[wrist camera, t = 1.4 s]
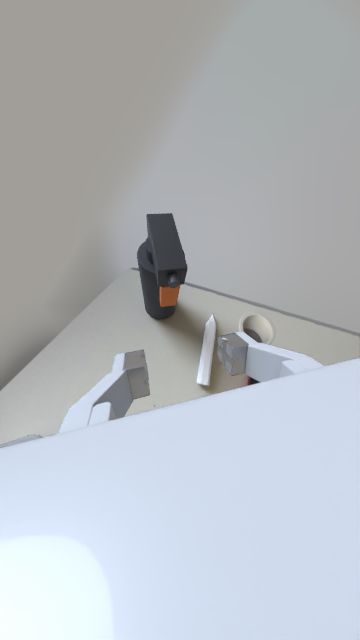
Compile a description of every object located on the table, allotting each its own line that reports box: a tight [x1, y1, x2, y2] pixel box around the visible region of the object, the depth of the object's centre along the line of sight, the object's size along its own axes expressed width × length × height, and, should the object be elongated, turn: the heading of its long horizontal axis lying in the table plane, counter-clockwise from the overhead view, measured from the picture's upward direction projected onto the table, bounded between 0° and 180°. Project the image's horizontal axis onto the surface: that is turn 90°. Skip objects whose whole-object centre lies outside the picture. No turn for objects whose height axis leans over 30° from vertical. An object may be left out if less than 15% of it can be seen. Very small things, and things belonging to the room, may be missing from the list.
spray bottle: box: [137, 213, 187, 319], centre depth 29 cm, size 12×7×21 cm, turn 12°
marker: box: [197, 313, 216, 386], centre depth 36 cm, size 3×2×16 cm
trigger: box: [160, 285, 180, 307], centre depth 23 cm, size 1×2×5 cm, turn 102°
